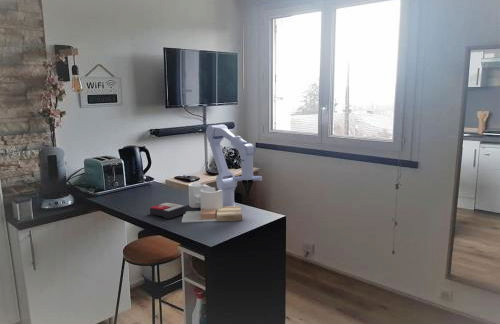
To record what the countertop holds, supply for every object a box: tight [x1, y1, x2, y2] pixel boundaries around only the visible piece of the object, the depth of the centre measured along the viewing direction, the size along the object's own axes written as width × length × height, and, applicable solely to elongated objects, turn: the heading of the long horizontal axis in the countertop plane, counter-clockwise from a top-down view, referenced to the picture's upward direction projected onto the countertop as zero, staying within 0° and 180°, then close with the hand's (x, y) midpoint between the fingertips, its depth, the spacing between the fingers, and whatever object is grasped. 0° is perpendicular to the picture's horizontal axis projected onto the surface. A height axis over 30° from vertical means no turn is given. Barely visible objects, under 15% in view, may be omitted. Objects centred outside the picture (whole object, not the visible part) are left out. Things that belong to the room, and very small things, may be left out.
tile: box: [200, 207, 216, 219], centre depth 195 cm, size 10×7×2 cm
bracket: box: [188, 181, 223, 214], centre depth 207 cm, size 25×10×12 cm, turn 34°
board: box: [216, 205, 243, 222], centre depth 196 cm, size 16×12×2 cm
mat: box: [181, 210, 218, 224], centre depth 195 cm, size 16×16×1 cm
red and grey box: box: [149, 202, 187, 220], centre depth 200 cm, size 11×4×15 cm
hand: (247, 194), depth 198 cm, fingers closed
